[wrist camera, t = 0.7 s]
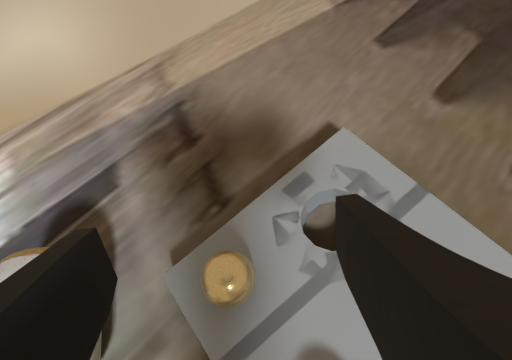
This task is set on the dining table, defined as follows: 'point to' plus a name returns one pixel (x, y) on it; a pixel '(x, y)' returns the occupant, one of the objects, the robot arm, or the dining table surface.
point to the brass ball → (228, 279)
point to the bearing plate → (312, 260)
